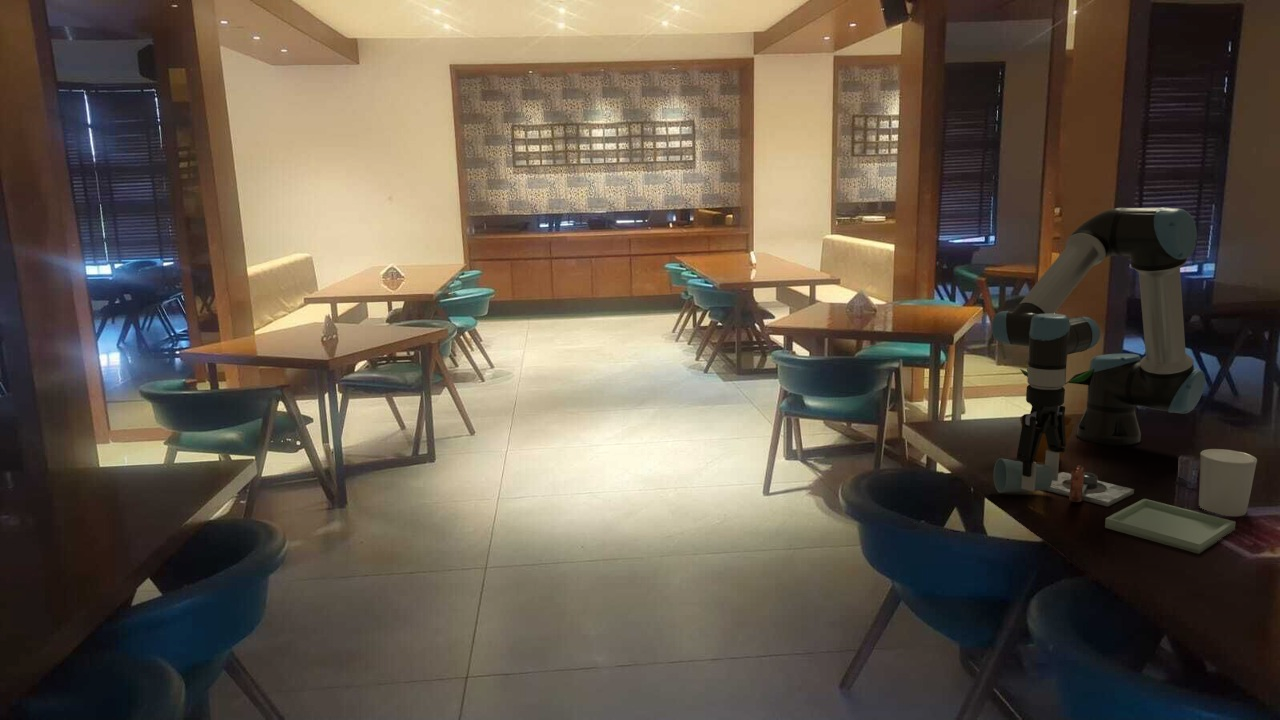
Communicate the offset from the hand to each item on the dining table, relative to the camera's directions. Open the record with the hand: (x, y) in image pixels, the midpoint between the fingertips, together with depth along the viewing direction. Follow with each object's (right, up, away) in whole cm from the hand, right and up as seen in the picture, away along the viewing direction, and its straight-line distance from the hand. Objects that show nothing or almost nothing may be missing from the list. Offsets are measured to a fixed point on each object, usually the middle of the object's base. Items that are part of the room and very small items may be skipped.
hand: (1039, 484), depth 190 cm
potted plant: (+14, +3, +28) cm, 31 cm away
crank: (+8, -2, -1) cm, 9 cm away
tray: (+17, -6, -19) cm, 26 cm away
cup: (+1, -3, +1) cm, 3 cm away
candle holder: (+34, -4, -9) cm, 36 cm away
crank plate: (+12, -2, +4) cm, 12 cm away
